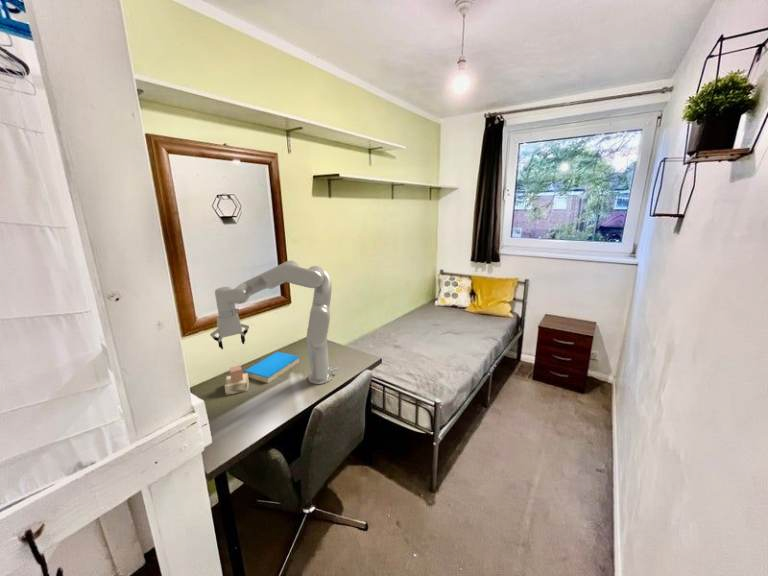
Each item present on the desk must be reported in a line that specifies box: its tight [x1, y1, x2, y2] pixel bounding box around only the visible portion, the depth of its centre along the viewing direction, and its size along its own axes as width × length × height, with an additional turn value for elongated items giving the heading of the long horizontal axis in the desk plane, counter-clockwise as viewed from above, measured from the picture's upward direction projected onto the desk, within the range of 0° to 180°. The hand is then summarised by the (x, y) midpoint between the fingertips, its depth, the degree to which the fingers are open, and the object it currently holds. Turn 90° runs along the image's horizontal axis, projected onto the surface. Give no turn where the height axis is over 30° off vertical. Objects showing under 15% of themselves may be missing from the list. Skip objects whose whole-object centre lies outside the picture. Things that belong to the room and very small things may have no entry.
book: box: [244, 351, 300, 384], centre depth 180 cm, size 17×4×25 cm
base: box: [224, 372, 250, 396], centre depth 163 cm, size 10×10×5 cm
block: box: [229, 364, 243, 383], centre depth 161 cm, size 5×5×6 cm
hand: (232, 345), depth 158 cm, fingers open, 9 cm apart
